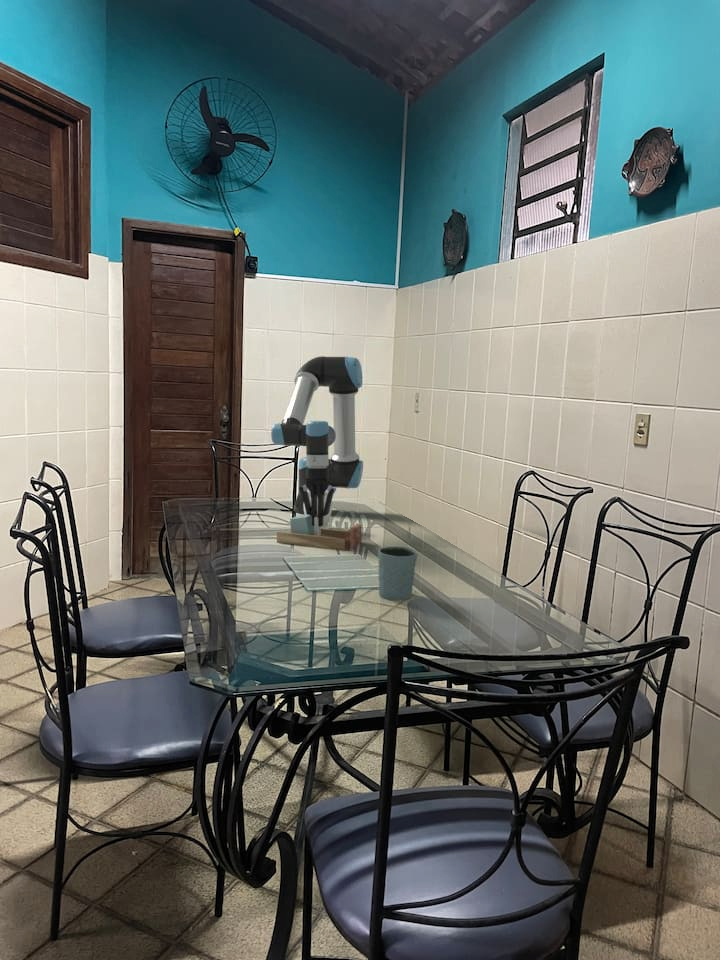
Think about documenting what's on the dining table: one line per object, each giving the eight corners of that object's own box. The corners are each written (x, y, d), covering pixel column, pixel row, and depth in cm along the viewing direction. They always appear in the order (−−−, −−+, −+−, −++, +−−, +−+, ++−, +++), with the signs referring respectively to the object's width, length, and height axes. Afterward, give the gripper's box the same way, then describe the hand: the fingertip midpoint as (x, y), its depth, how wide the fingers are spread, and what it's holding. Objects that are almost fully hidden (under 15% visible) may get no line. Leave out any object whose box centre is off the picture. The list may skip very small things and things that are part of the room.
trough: (291, 534, 246) (292, 518, 245) (361, 542, 238) (361, 525, 237) (276, 542, 235) (276, 525, 234) (348, 550, 227) (349, 532, 226)
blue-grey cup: (377, 588, 187) (378, 545, 185) (414, 590, 187) (416, 546, 185) (376, 600, 177) (378, 555, 175) (416, 602, 177) (418, 556, 175)
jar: (314, 533, 249) (315, 492, 246) (297, 528, 256) (298, 488, 254) (337, 530, 255) (338, 490, 253) (320, 525, 263) (320, 486, 261)
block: (301, 538, 242) (297, 515, 241) (316, 536, 240) (312, 514, 239) (293, 542, 236) (289, 519, 236) (309, 540, 234) (305, 517, 233)
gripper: (295, 467, 232) (296, 536, 235) (331, 468, 228) (331, 539, 231) (304, 465, 239) (304, 532, 242) (339, 466, 235) (338, 534, 238)
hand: (317, 535), depth 236 cm, fingers closed
